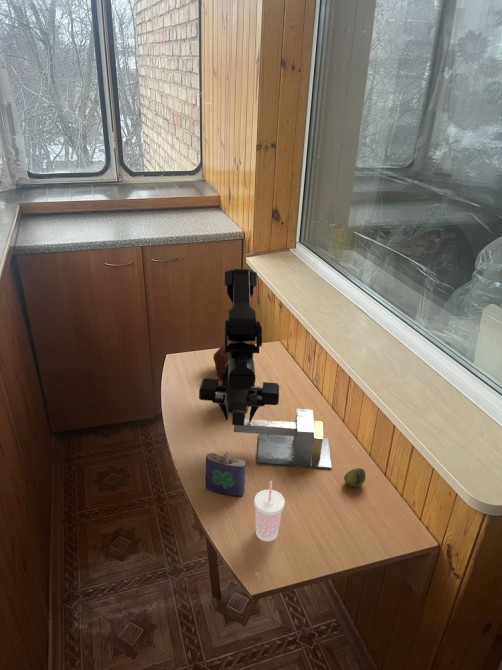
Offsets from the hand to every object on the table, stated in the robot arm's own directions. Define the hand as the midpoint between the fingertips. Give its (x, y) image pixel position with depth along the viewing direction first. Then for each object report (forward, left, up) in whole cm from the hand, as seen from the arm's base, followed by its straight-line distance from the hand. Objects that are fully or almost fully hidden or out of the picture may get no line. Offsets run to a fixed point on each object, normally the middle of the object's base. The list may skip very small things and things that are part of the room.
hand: (238, 420), depth 126 cm
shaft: (+8, 0, -3) cm, 8 cm away
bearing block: (+14, 0, -9) cm, 17 cm away
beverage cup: (+8, -26, -9) cm, 29 cm away
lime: (+28, -10, -9) cm, 31 cm away
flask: (-2, -15, -9) cm, 18 cm away
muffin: (-5, +34, -9) cm, 35 cm away
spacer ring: (+20, 0, -5) cm, 20 cm away
